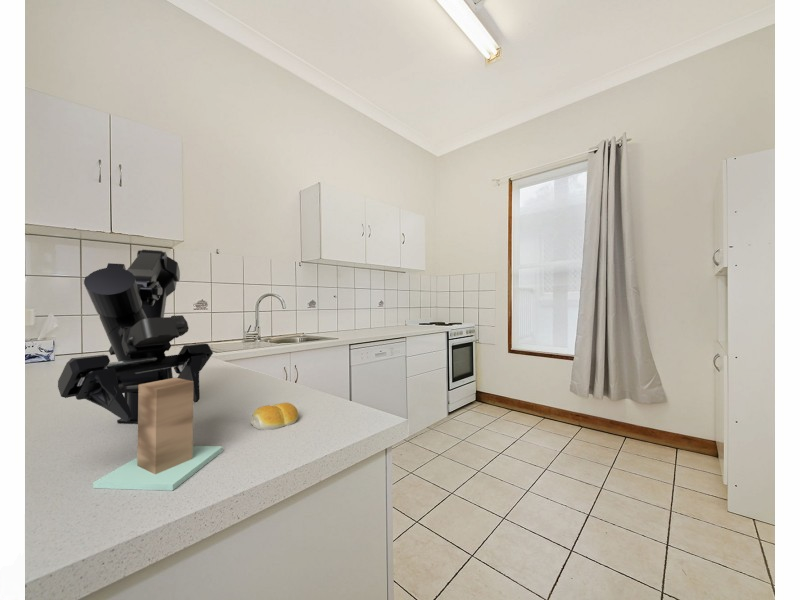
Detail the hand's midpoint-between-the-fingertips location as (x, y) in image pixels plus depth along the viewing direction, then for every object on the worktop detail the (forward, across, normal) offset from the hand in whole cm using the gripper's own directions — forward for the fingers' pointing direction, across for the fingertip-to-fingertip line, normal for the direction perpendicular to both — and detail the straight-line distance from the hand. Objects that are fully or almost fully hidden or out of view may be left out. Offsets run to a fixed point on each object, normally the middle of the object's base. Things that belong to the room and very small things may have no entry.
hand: (166, 409), depth 47 cm
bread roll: (+7, +20, +6) cm, 22 cm away
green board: (+6, 0, +6) cm, 9 cm away
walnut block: (+6, 0, +5) cm, 8 cm away
